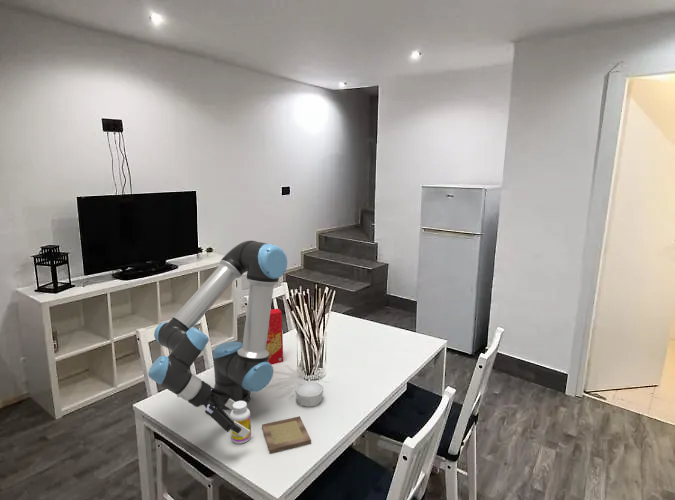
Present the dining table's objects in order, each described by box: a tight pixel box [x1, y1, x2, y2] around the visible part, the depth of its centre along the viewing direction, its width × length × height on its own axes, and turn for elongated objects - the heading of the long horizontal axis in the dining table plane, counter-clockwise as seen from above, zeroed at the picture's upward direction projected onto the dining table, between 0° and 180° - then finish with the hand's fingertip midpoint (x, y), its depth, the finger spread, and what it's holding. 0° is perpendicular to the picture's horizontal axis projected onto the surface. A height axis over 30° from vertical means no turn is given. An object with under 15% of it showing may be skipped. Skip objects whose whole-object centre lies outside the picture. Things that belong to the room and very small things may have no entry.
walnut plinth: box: [261, 416, 312, 454], centre depth 143 cm, size 14×14×2 cm
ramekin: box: [294, 381, 324, 408], centre depth 164 cm, size 11×11×5 cm
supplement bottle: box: [229, 401, 252, 444], centre depth 141 cm, size 7×7×13 cm
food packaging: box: [266, 308, 284, 365], centre depth 192 cm, size 15×5×25 cm, turn 118°
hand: (244, 422), depth 141 cm, fingers open, 13 cm apart
